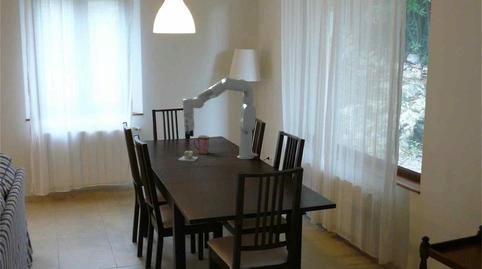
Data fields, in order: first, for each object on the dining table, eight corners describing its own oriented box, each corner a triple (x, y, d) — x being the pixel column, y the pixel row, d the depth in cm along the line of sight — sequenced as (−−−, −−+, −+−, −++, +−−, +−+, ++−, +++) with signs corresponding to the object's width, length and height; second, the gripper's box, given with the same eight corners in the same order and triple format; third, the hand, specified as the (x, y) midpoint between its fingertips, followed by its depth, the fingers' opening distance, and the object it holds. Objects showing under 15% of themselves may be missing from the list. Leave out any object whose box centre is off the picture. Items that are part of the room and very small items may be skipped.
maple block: (192, 157, 393) (192, 151, 392) (190, 159, 388) (190, 152, 387) (186, 157, 394) (186, 150, 393) (184, 158, 389) (184, 152, 388)
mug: (209, 151, 418) (209, 135, 415) (209, 154, 409) (209, 137, 406) (193, 151, 416) (193, 135, 414) (193, 154, 407) (193, 137, 405)
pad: (198, 157, 396) (198, 156, 395) (193, 161, 384) (193, 160, 384) (183, 156, 398) (183, 155, 398) (178, 160, 387) (178, 159, 387)
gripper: (189, 117, 376) (190, 140, 379) (197, 113, 392) (197, 135, 396) (179, 116, 377) (180, 139, 381) (187, 113, 394) (188, 135, 397)
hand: (189, 137), depth 388 cm, fingers open, 9 cm apart
